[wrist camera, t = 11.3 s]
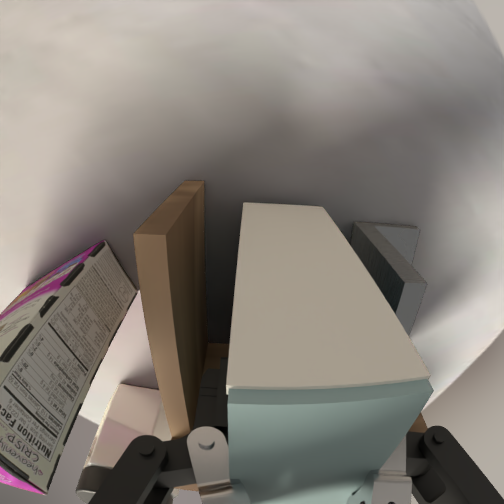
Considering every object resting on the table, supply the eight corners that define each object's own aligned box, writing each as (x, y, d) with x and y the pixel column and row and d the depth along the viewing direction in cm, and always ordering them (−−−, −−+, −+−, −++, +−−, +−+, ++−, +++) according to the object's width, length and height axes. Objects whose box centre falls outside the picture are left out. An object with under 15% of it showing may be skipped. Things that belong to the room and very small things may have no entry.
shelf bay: (193, 352, 24) (166, 487, 13) (184, 180, 19) (96, 275, 8) (384, 353, 24) (432, 470, 13) (427, 198, 19) (552, 284, 8)
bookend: (329, 342, 24) (351, 423, 16) (353, 221, 20) (405, 283, 12) (384, 340, 24) (417, 413, 16) (416, 226, 20) (481, 282, 12)
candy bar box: (55, 332, 24) (-31, 472, 9) (23, 288, 22) (-85, 418, 7) (144, 293, 22) (49, 502, 7) (107, 235, 20) (-50, 421, 5)
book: (239, 337, 22) (230, 526, 10) (243, 200, 18) (224, 399, 6) (302, 339, 22) (332, 522, 10) (321, 204, 18) (437, 387, 6)
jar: (117, 423, 29) (89, 510, 18) (99, 377, 26) (55, 478, 15) (193, 436, 30) (180, 532, 19) (187, 391, 26) (166, 509, 15)
